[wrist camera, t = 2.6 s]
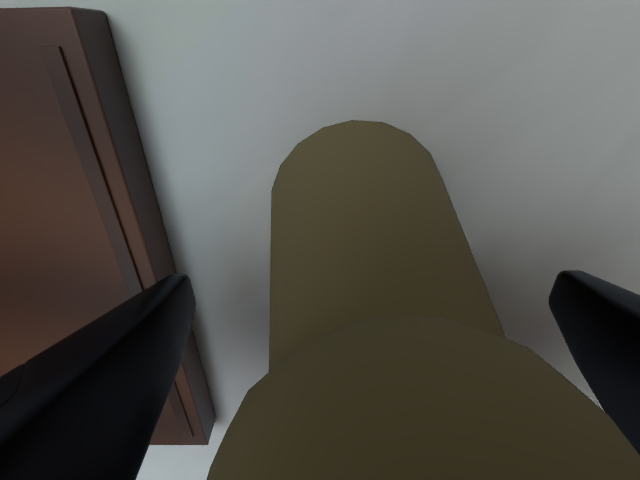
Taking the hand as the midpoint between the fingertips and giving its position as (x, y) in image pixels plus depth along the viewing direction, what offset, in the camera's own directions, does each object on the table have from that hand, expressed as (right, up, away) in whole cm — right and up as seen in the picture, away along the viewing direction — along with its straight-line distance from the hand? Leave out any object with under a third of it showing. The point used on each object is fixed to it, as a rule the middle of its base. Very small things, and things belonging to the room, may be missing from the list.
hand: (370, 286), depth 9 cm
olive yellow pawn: (0, +2, +4) cm, 5 cm away
